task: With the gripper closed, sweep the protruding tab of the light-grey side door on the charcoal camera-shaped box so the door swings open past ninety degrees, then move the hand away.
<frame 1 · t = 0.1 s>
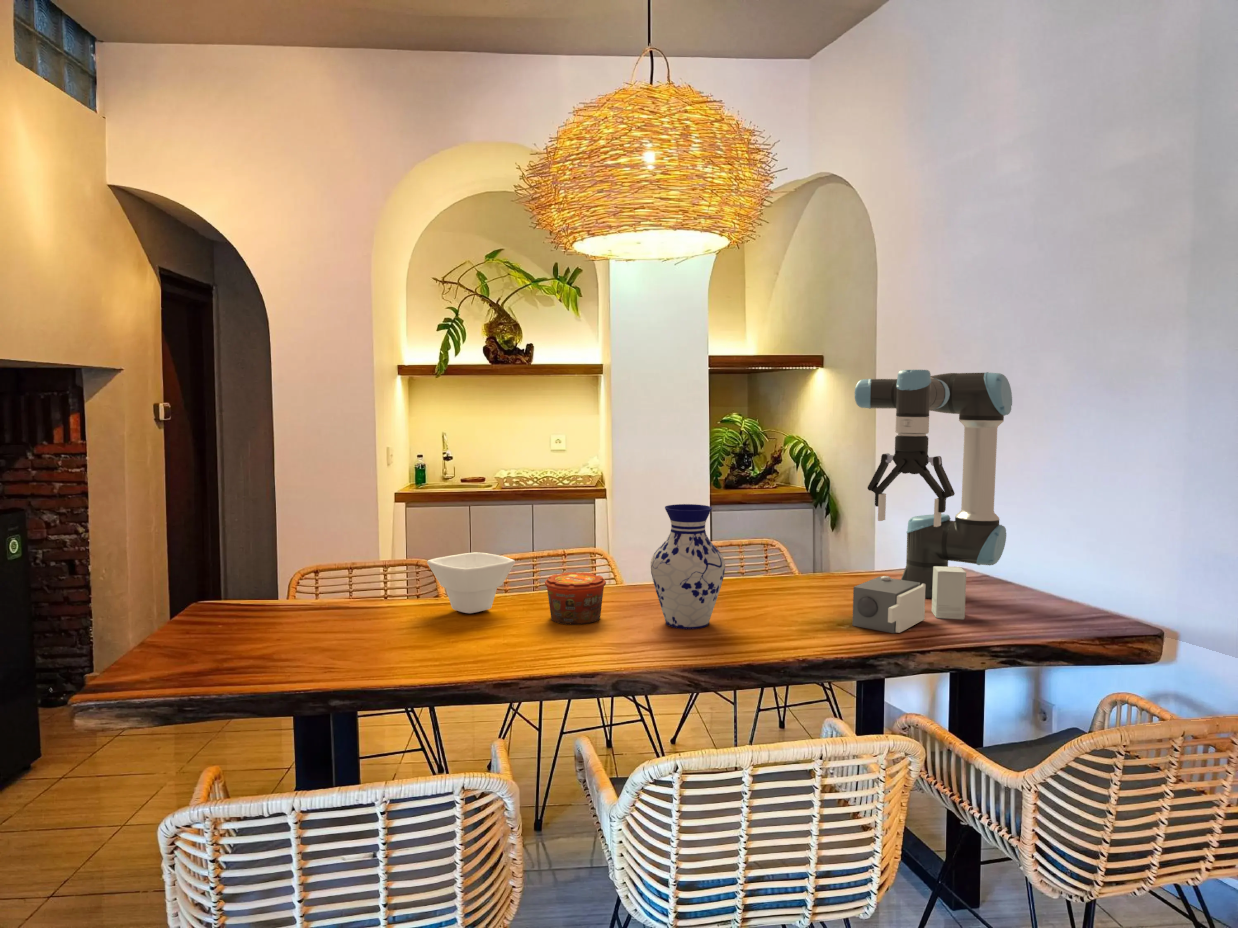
hand: (908, 523, 206), 28 cm above the table, fingers open, 13 cm apart
vase: (687, 624, 220), on the table
bowl: (471, 611, 231), on the table
camera box: (886, 622, 221), on the table
supplement box: (947, 616, 229), on the table
food container: (575, 619, 224), on the table
side door: (907, 609, 215), point 5 cm above the table, hinge at 0.0°
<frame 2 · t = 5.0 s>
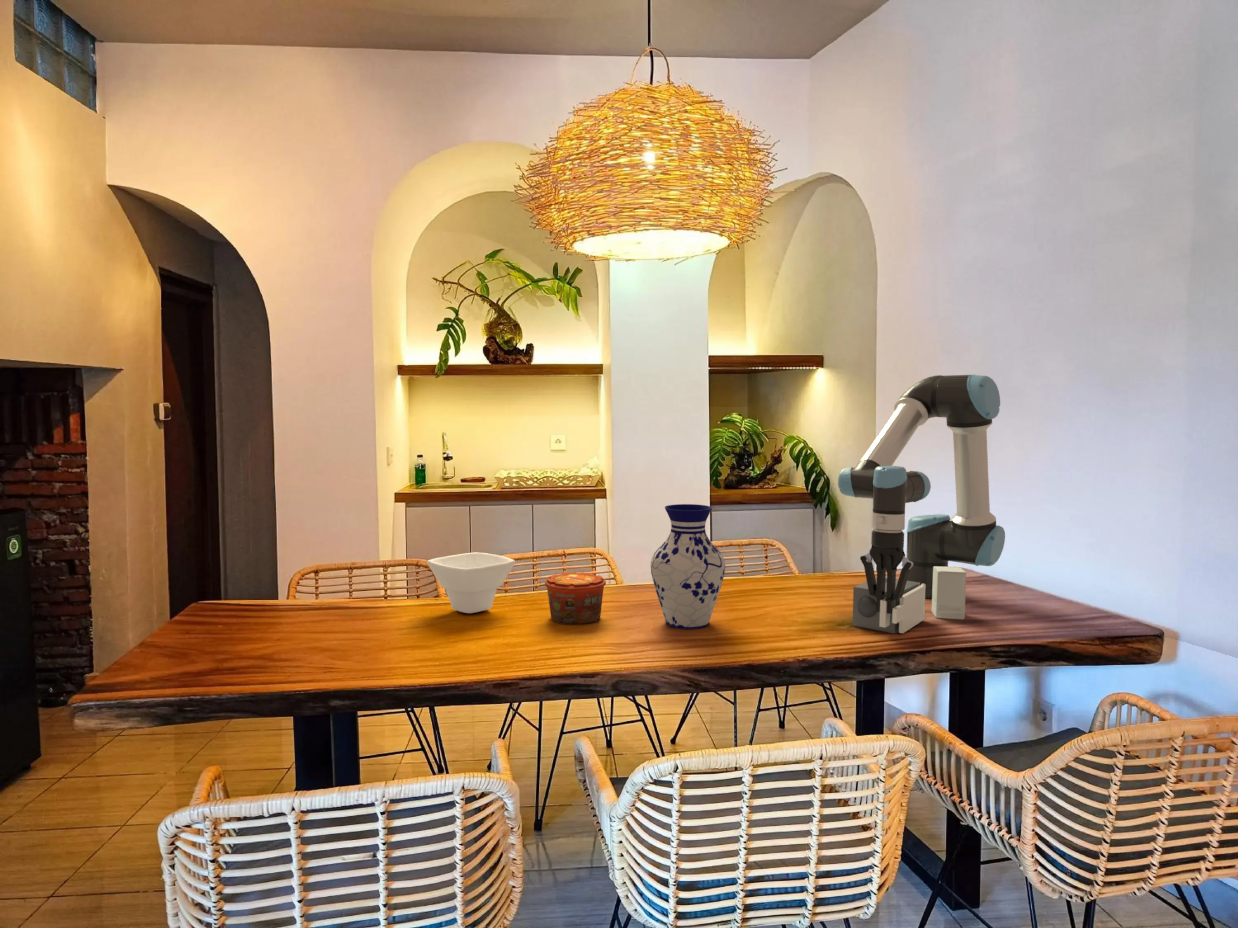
hand: (884, 625, 209), 2 cm above the table, fingers closed
side door: (909, 610, 214), point 5 cm above the table, hinge at 2.9°, touching gripper
everything else where it was.
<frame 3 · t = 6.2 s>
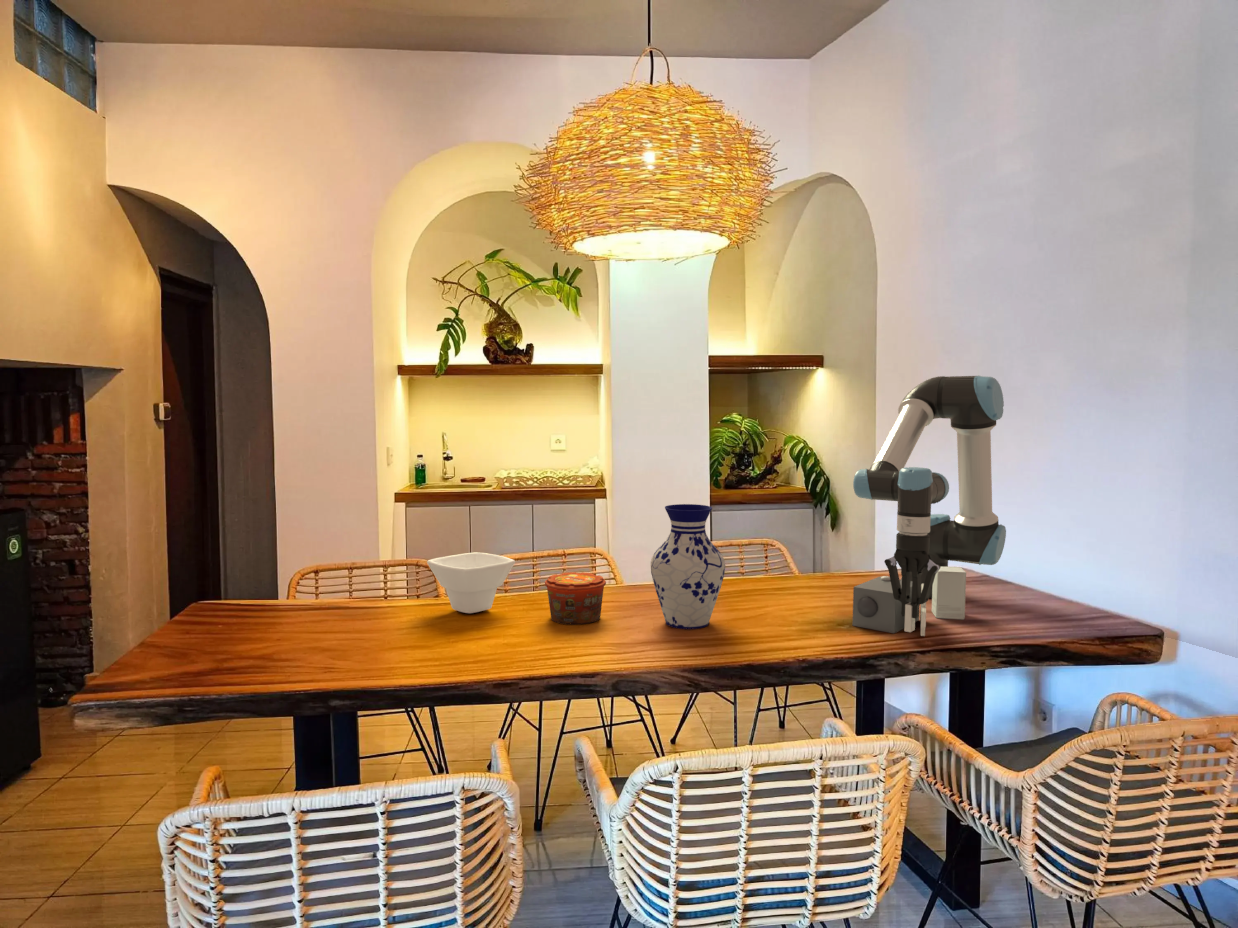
hand: (909, 630, 205), 2 cm above the table, fingers closed
side door: (923, 611, 213), point 5 cm above the table, hinge at 20.9°, touching gripper
everything else where it was.
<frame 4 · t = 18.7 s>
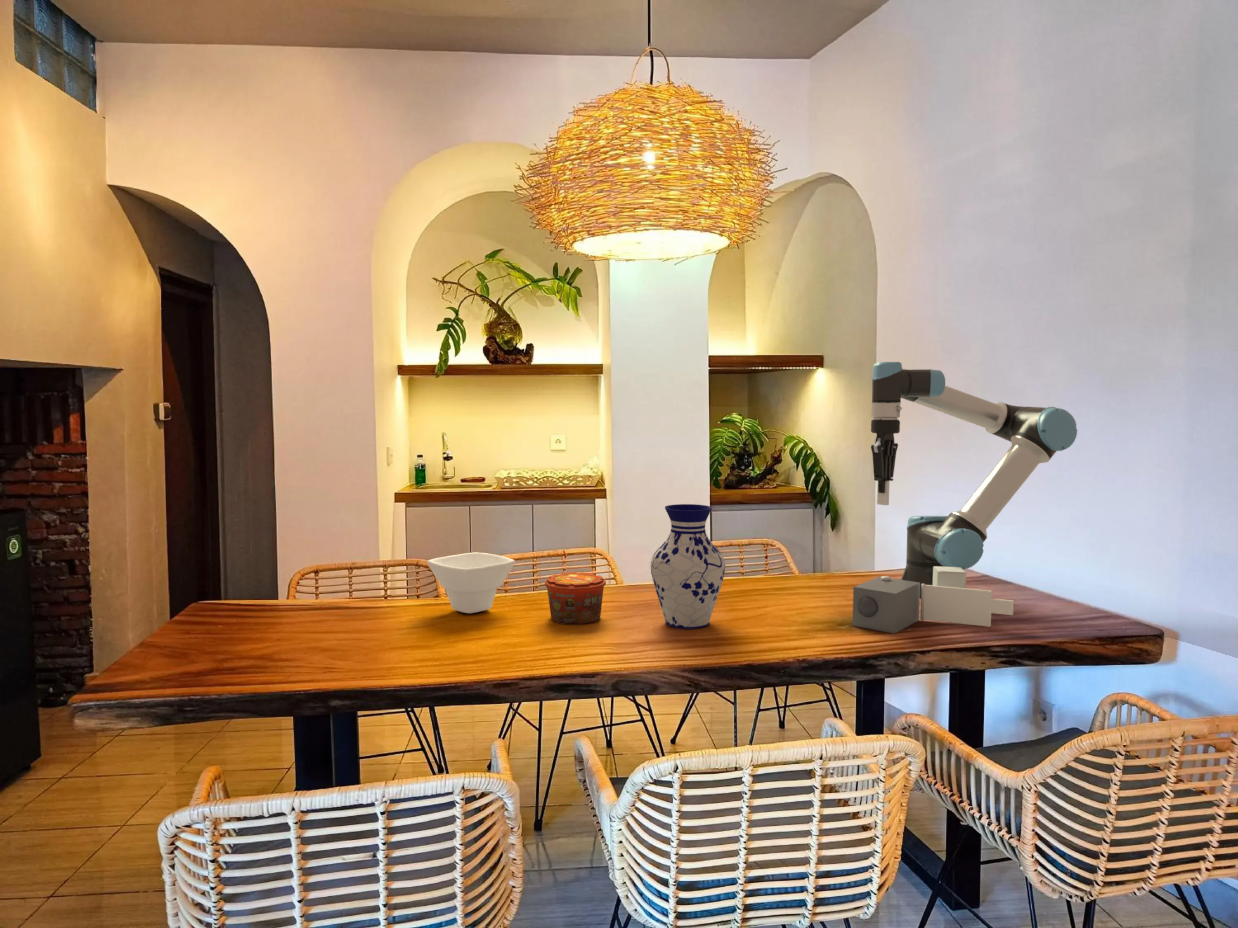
hand: (882, 504, 236), 28 cm above the table, fingers closed
side door: (966, 606, 219), point 5 cm above the table, hinge at 106.6°
everything else where it was.
at the end: side door at +107° (first picture: +0°) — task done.
